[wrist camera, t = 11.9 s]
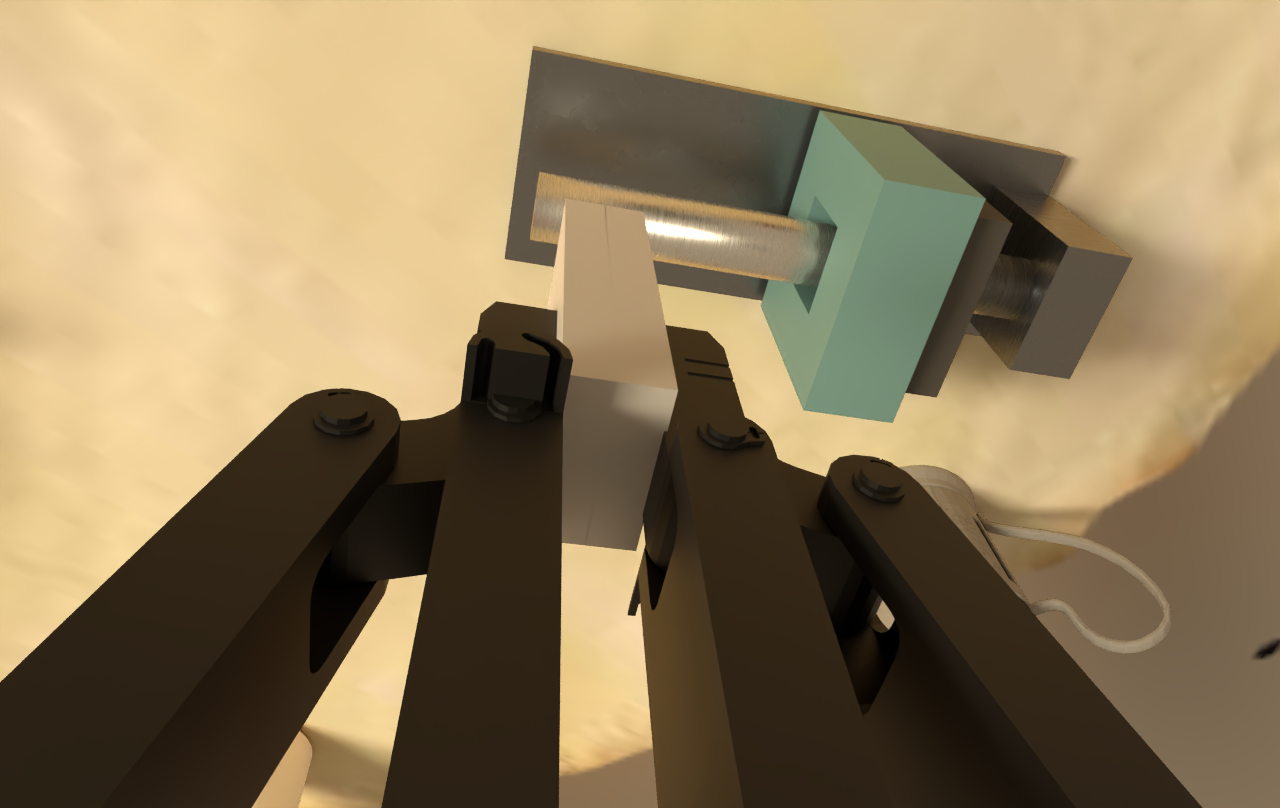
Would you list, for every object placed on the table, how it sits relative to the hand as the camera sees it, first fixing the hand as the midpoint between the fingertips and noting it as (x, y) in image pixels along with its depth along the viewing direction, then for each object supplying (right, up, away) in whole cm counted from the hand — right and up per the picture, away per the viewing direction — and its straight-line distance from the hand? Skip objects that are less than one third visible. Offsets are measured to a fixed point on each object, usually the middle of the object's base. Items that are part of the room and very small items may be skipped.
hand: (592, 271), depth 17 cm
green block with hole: (+10, +6, +26) cm, 29 cm away
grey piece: (+8, +7, +27) cm, 29 cm away
